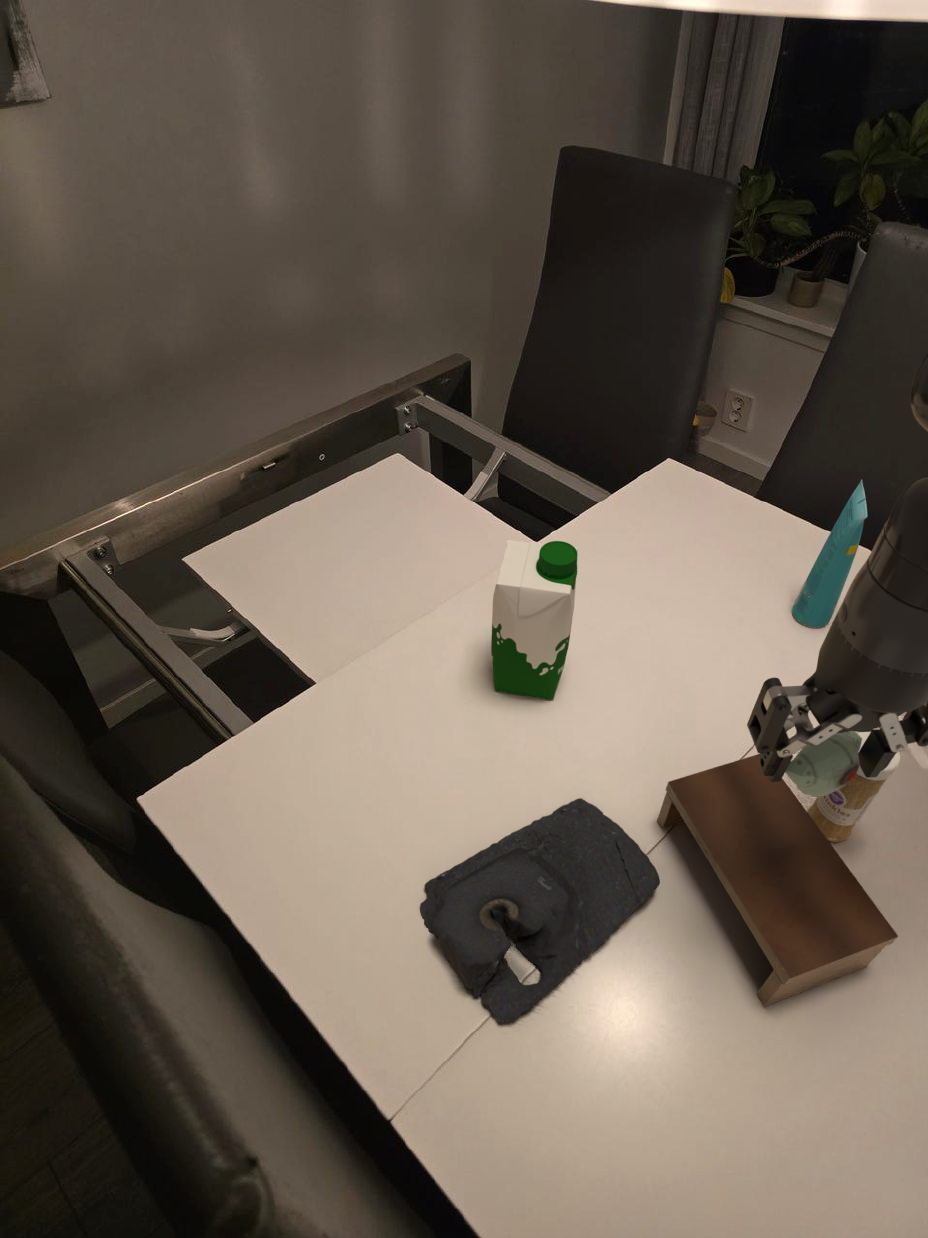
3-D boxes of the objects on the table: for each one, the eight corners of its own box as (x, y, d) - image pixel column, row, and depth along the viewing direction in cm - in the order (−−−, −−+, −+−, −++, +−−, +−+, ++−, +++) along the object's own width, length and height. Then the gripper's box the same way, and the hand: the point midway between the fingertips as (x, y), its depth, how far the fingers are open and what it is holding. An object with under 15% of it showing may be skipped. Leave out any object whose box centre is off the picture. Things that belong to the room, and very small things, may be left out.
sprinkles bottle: (797, 823, 82) (840, 747, 73) (819, 797, 84) (864, 720, 75) (837, 852, 80) (888, 778, 70) (859, 825, 82) (911, 749, 72)
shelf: (745, 790, 85) (763, 752, 80) (868, 968, 72) (898, 936, 67) (655, 818, 82) (668, 781, 77) (765, 1009, 69) (788, 979, 64)
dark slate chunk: (681, 907, 76) (691, 884, 72) (492, 1039, 67) (493, 1020, 64) (583, 791, 85) (588, 766, 81) (405, 895, 76) (402, 872, 73)
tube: (833, 637, 101) (890, 518, 88) (794, 632, 102) (845, 513, 88) (825, 598, 106) (878, 481, 93) (788, 594, 107) (835, 476, 93)
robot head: (824, 754, 68) (851, 705, 63) (863, 788, 66) (895, 740, 61) (758, 795, 65) (782, 746, 60) (797, 832, 63) (825, 785, 58)
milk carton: (559, 708, 93) (576, 583, 79) (484, 695, 94) (488, 571, 80) (567, 654, 99) (585, 530, 85) (497, 643, 100) (503, 519, 86)
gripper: (813, 675, 48) (745, 816, 60) (1037, 665, 49) (926, 807, 61) (772, 592, 54) (717, 736, 65) (974, 585, 54) (884, 729, 66)
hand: (818, 770), depth 63 cm, fingers closed on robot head, 7 cm apart
